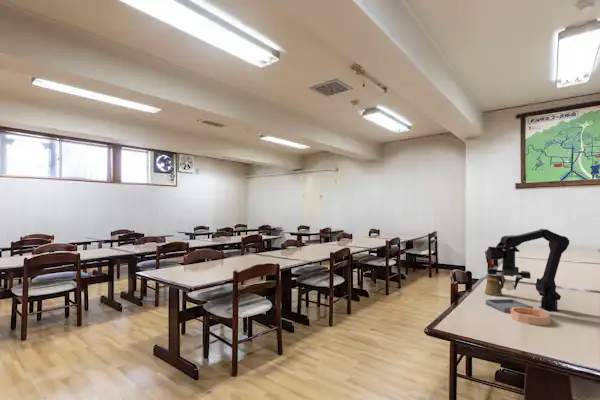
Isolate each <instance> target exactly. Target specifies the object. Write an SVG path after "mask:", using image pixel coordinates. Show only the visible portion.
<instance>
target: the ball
mask: <svg viewBox="0 0 600 400" xmlns="http://www.w3.org/2000/svg"><path fill="white" fill-rule="evenodd" d="M514 286H515V282H512V280H506V281H505V282H504V284H503V289H505V290H506V291H513V290H514Z"/></svg>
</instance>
